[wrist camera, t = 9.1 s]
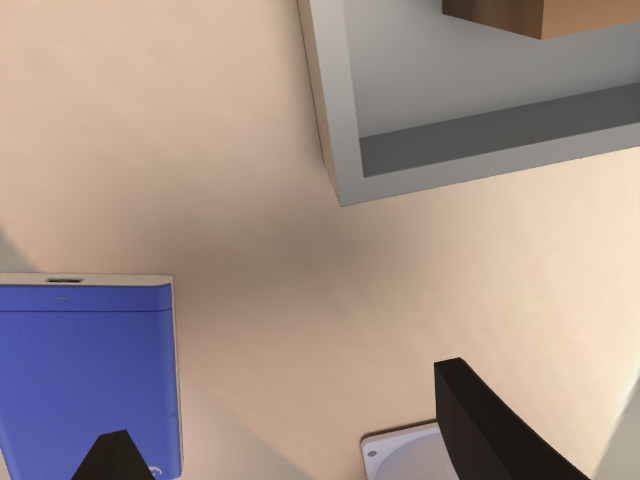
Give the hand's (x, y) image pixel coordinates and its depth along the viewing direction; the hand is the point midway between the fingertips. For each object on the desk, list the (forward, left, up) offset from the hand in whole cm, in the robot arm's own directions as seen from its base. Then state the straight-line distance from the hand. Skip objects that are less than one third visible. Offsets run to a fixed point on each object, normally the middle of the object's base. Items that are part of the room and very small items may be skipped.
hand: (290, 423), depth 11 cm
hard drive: (-6, +10, -10) cm, 16 cm away
